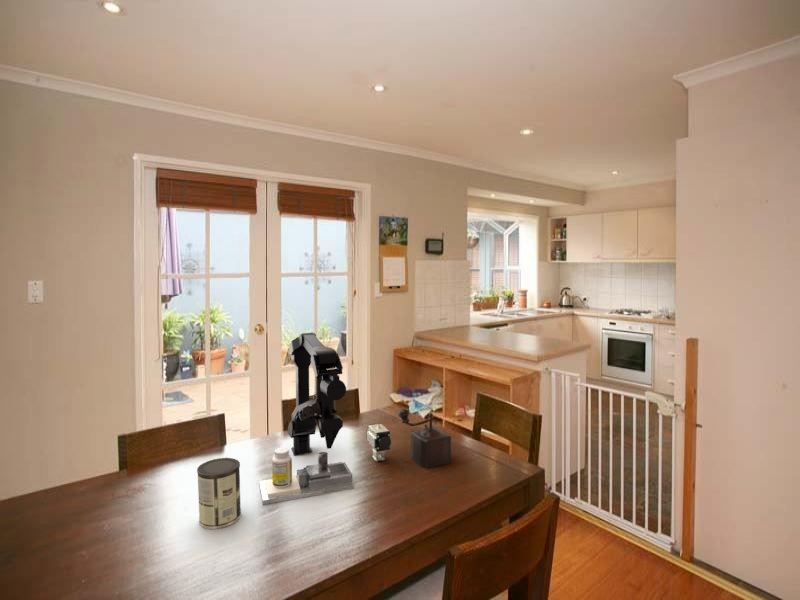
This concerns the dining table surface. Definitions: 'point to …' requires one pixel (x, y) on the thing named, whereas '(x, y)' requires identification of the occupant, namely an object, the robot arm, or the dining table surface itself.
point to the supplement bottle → (282, 468)
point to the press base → (316, 485)
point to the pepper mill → (428, 443)
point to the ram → (314, 470)
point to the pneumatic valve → (378, 440)
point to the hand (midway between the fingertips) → (325, 442)
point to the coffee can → (219, 493)
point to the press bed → (279, 491)
